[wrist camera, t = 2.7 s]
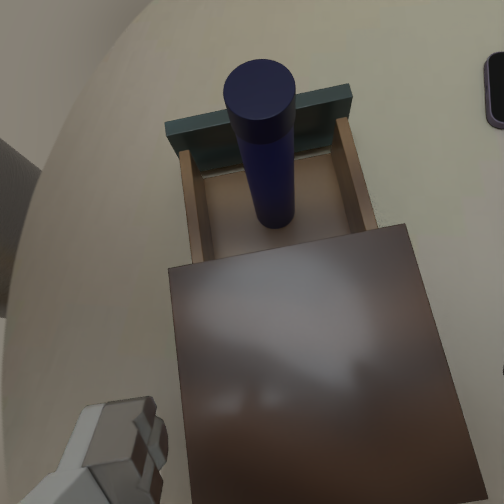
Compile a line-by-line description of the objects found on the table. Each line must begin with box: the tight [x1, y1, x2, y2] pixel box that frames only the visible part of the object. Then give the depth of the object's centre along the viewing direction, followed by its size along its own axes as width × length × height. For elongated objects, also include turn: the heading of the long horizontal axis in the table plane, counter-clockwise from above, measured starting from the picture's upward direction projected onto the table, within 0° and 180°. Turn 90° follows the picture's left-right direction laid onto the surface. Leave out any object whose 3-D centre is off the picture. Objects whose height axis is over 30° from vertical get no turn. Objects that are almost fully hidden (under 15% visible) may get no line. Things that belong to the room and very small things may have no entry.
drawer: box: [165, 83, 378, 264], centre depth 29 cm, size 15×13×6 cm
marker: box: [223, 59, 296, 229], centre depth 24 cm, size 3×3×14 cm
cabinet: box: [168, 223, 488, 504], centre depth 25 cm, size 15×15×8 cm
